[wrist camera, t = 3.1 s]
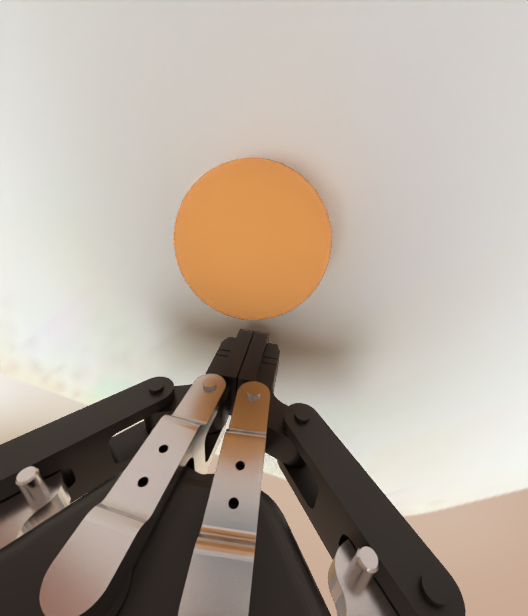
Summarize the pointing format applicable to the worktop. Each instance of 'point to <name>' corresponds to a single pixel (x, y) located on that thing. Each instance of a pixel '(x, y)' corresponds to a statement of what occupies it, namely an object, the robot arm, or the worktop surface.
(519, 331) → the worktop surface
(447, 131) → the worktop surface
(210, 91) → the worktop surface
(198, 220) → the ball
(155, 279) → the worktop surface
